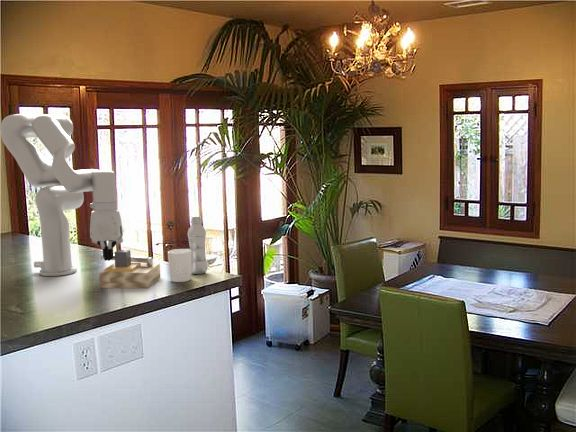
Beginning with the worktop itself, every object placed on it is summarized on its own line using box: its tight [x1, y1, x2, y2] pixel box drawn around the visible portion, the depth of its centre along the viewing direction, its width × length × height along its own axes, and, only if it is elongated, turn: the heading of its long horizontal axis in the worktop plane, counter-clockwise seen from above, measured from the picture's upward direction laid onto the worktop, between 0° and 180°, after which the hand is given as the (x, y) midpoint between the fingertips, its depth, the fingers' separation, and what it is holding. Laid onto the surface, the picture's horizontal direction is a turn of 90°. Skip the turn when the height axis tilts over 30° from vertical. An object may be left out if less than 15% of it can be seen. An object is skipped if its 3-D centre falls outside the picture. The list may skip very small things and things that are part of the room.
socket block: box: [98, 262, 161, 289], centre depth 207 cm, size 16×14×5 cm
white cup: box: [167, 248, 192, 283], centre depth 209 cm, size 8×8×10 cm
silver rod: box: [100, 253, 154, 266], centre depth 212 cm, size 21×2×3 cm, turn 66°
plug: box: [104, 249, 141, 272], centre depth 206 cm, size 9×9×9 cm
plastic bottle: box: [187, 216, 209, 275], centre depth 217 cm, size 6×7×20 cm
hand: (108, 259), depth 212 cm, fingers closed
